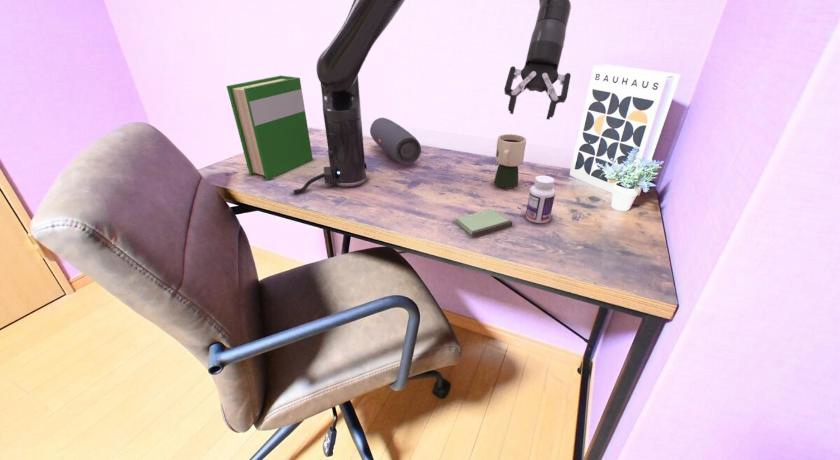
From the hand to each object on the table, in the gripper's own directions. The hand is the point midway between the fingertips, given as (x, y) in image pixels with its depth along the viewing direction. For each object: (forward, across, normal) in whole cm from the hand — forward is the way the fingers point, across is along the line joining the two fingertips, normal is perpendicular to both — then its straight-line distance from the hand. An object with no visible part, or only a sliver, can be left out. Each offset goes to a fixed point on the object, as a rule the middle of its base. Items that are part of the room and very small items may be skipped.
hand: (529, 115), depth 87 cm
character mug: (+16, -2, +11) cm, 20 cm away
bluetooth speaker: (+13, -39, +21) cm, 46 cm away
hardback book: (+24, -67, +5) cm, 71 cm away
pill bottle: (+23, +7, -3) cm, 25 cm away
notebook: (+27, -4, -8) cm, 29 cm away
